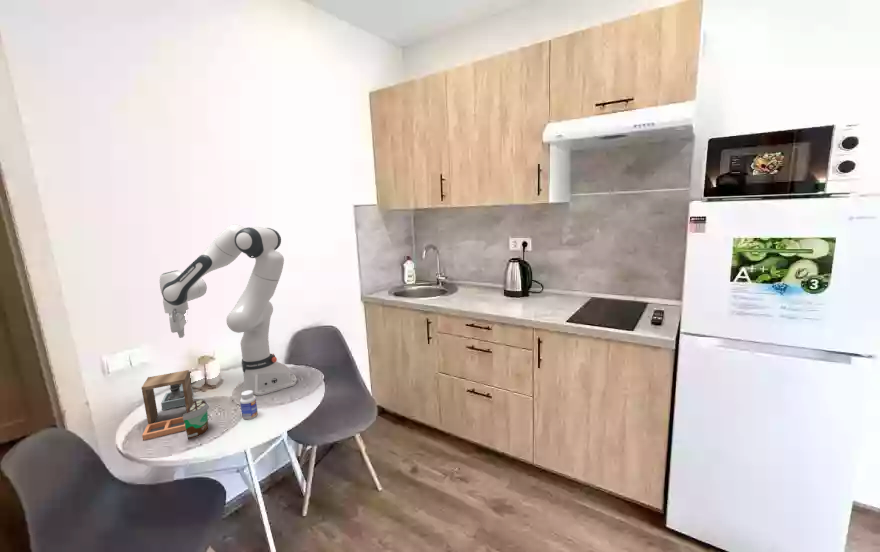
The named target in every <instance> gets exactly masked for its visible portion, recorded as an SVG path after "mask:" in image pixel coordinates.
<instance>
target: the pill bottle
mask: <svg viewBox="0 0 880 552" xmlns="http://www.w3.org/2000/svg"><path fill="white" fill-rule="evenodd" d="M240 397H241V398H240V400H239V404H240V405H239V406H240V410H241V411H240V412H241V417H242V419H243V420H251V419H254V418H256V417H257V416H258V404H257V398H256V395H254V394H253V391H252V390H247V391H244V392H243V391H242V392H241V393H240Z"/></svg>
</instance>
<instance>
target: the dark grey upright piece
mask: <svg viewBox="0 0 880 552" xmlns="http://www.w3.org/2000/svg"><path fill="white" fill-rule="evenodd" d="M169 386H170V388H169V390H170V392H171V396H169V397H168V400H169V401H170V400H175V399H180V398H184V393H181V392H180V386H181V385H179V384H174V385H169Z"/></svg>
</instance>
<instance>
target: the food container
mask: <svg viewBox="0 0 880 552" xmlns="http://www.w3.org/2000/svg"><path fill="white" fill-rule="evenodd" d="M193 401H194V402H193V404H192V405H191V406H190V407H189V409H188V411H186V413H183V414H182V417H183V420H184V423H185V427H186V431H185V432H186V436H187V439H188V440H192V439H195V438H198V437H200V436H202V435H204V434H205V433H206V432H207V431H208V430H209V417H208V416H209V414H208V410H209V409H210V406H209V403H208V402H207V400H206V399H204V398H193Z"/></svg>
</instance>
